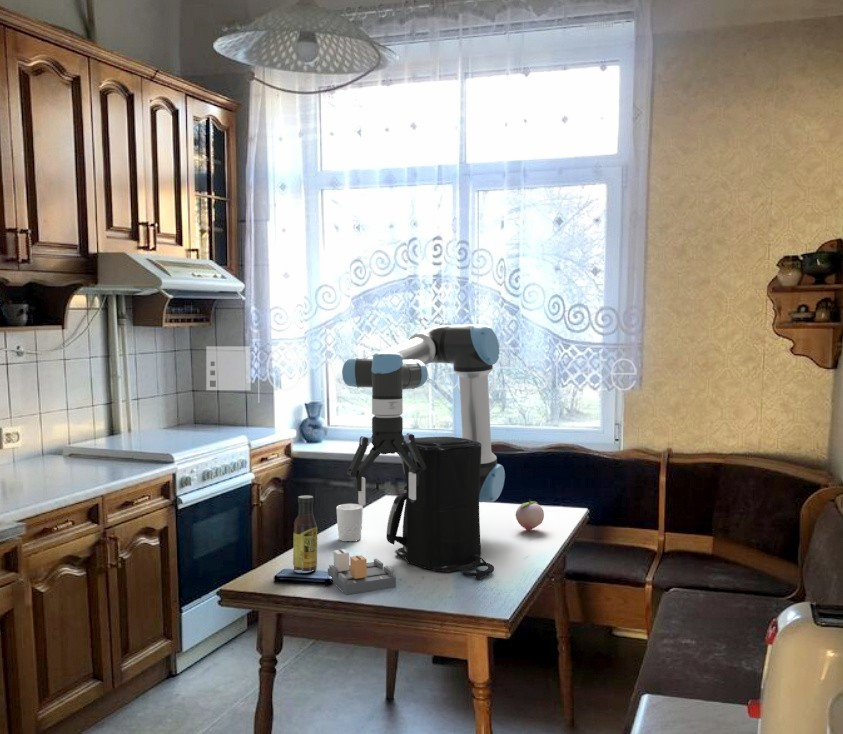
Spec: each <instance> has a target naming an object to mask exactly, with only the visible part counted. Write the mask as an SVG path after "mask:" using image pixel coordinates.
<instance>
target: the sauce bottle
mask: <svg viewBox="0 0 843 734" xmlns="http://www.w3.org/2000/svg"><path fill="white" fill-rule="evenodd" d="M297 503H298V511H297V512H298V514H297V517H296V518H295V520H294V521H293V535H292V536H293V537H292V538H293V541H292V542H293V548H292V549H293V551H292V552H293V553H292V557H293V559H292V561H293V562H292V565H293V571H294V570H302V571H312V570H316V571H317V568H318V525H317V522H316V520H315V516H314V509H313V505H314V504H313V503H314V496H313V495H309V494H307V495H306V494H305V495H300V496H297Z"/></svg>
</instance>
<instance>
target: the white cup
mask: <svg viewBox="0 0 843 734" xmlns="http://www.w3.org/2000/svg"><path fill="white" fill-rule="evenodd" d="M363 507H364V505H361V504H359V503H343V504H338V505H337V506H336V523H337V531H338V533H337V534H338V540H339V541H340V540H342V541H356V540H359V539H360V540H361V539H362V528H363V511H364V510H363ZM360 540H359V541H360ZM342 541H341V542H342ZM356 542H357V541H356Z"/></svg>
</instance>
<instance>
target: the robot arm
mask: <svg viewBox="0 0 843 734" xmlns="http://www.w3.org/2000/svg"><path fill="white" fill-rule="evenodd" d="M499 355H500V344H499V339H498V336H497V334H496V332H495V331H494V329H493V328H492V327H490V326H488V325H486V324H485V325H484V324H451V325H450V324H443V325H438V326H434V327H430V328H427V329H425V330H422V331H420V332H417V333H415V334H413V335H411V336H410V337H409V338H408V340H406V341H405V342H401V343H399V344H397V345H394V346H392V347H389V348H387V349H384V350H383V351H380V352H377V353H375V354H374V353H373V354H372V355H369V356H367V357H364V358H358V357H356V358H348V359H347V360H345V361H344V363H343V366H342V370H341V374H342V380H343V382H344V384H345V385H346V386H348V387H352V388H357V389H358V388H366V389H367V388H370V389H371V394H372V395H371V414H372V415H373V417H371V432H372V434H371V437H366V436H362V435H361V436H360V437H359V443H358V447H357V450H356V451H355V454H354V455H353V459H352V460H351V463H350V465H349V467H348V469H347V472H346V473H347V475H349V476H351V477H354V490H355V491H356V492H357V493H358V500H357V501H358V503H357V504H359V505H362V506H366V478H365V477H364V476H365V474H366V473H367V471H368V470H369V469H370V467H371V466H372V464H373V463H374V462H375V460H376V459H377V458H378V457H379V456H380V455H388V454H392V455H394V454H395V453H396V454H398V456H399V457H400V459H401V458H402V459H401V461H402V460H403V461H404V462H405V463H406V464H407V466H408V467H409V468H410V469H411V471H412V472H409V498H410V499H412V500H416V486H418V485H419V474H420V473H421V471H422V470H426V465H425V463H424V461H423V459H422V457H421V455H420V452H419V450H418V448H417V446H416V444H415V438H416V437H415V434H412V433H410V432H409V433H406V434H404V435H403V428H404V427H403V425H404V424H403V423H404V422H403V421H404V418H403V417H402V416H401V415H403V410H404V409H403V408H404V407H403V390H415V389H418V388H421V387H422V386H423V385H424V384H426V383H427V380H428V377H429V371H428V367H427V364H438V363H439V364H452V365H453V372H454V373H455V374H457V375H458V378H459V394H460V415H461V417H460V418H461V434H462V437H461V438H465V439H469V440H471V441H477V442H480V443H481V445H482V446H481V470H480V494H479V503H494V502H495V501H497V500H498V499H499V497H500V495H501V493H502V491H503V489H504V485H505V478H506V473H505V468H504V466H503V465H502V464H500V463H498V461H497V460H498V458H497V455H495V453H494V452H492V437H491V435H492V433H491V416H490V415H491V414H490V412H491V411H490V393H489V389H490V388H489V374H490V373H491V372H492V371H493V367H494V366H493V365H495V364H497V362H499V361H498V360H499ZM404 440H405V442H406V443H407V445H408V447H409V449H410V451H411V454H412V456H413V458H414V460H415V462H416V464H417V466H416V464H415V463H414V462H413V461H412V460H411V458H410V457H409V456H408V455H407V453H406V452H405V450H404V449H403V448H402V447H401V444H402V443H403V441H404ZM370 444H371V445H372V447H371V449H370V451H369V453H368V454H367V455H366V457H365V458H364V456H365V454H366V451H367V449H368V446H370ZM363 458H364V459H363Z"/></svg>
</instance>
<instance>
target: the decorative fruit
mask: <svg viewBox="0 0 843 734" xmlns="http://www.w3.org/2000/svg"><path fill="white" fill-rule="evenodd" d="M544 518H545V512H544V509H543V507H542V505H540V504H539V503H538V502H537V501H535V500H534V501H532V500H531V498H529V499H528V502H523V503H521V504H520V505H519V507H517V509H516V511H515V519H516V521H517V523H518V524H519V526H520V527H522V528H523V529H524V530H526V531H529V532H530V531H532V530H533V529H535V528H537V527H539V526H540V525H541V524H542V523H543V521H544Z"/></svg>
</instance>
